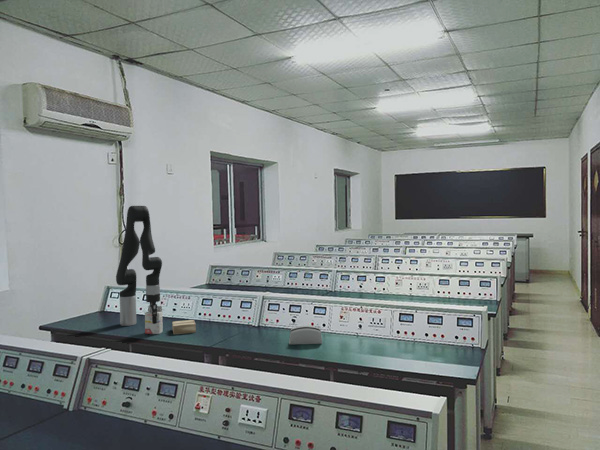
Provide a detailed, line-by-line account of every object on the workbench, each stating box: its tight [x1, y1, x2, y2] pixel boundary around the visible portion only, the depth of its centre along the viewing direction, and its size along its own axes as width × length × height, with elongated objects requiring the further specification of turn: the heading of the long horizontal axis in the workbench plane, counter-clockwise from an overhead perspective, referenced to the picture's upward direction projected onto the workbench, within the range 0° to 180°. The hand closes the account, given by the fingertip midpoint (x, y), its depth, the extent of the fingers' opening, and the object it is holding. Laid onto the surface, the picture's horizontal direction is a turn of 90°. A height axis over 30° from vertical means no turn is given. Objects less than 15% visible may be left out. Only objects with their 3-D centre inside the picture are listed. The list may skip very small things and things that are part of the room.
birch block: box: [171, 319, 197, 335], centre depth 274 cm, size 12×12×5 cm
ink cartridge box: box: [144, 305, 164, 335], centre depth 270 cm, size 9×5×15 cm, turn 84°
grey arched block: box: [288, 325, 323, 345], centre depth 242 cm, size 17×5×10 cm, turn 92°
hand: (153, 322), depth 270 cm, fingers open, 8 cm apart
